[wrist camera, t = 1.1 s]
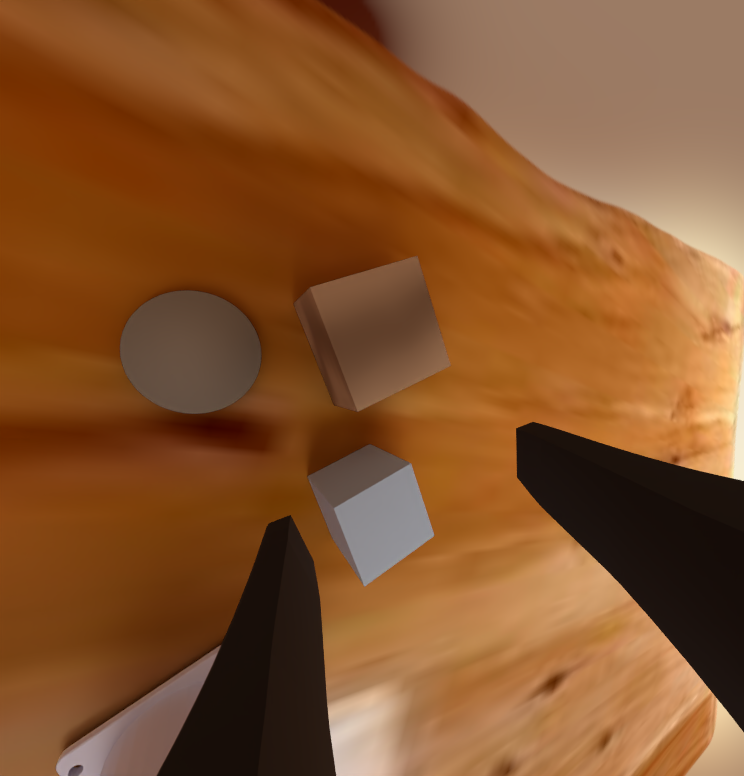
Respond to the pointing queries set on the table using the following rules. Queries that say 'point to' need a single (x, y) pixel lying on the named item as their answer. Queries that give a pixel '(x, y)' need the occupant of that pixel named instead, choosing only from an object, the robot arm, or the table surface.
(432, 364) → the walnut block
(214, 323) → the smooth gray stone
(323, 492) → the gray block
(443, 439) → the table surface
